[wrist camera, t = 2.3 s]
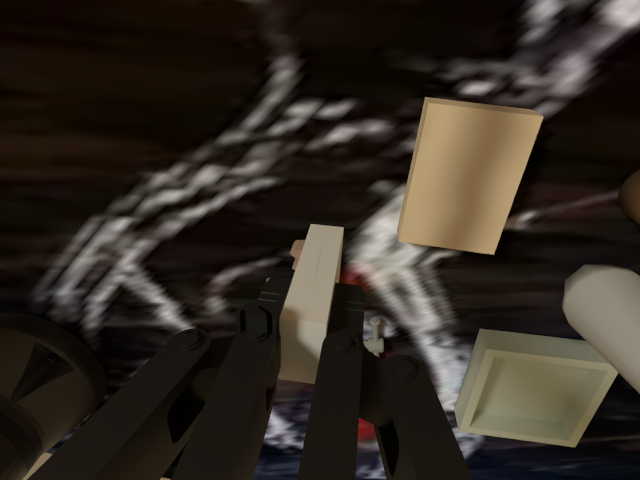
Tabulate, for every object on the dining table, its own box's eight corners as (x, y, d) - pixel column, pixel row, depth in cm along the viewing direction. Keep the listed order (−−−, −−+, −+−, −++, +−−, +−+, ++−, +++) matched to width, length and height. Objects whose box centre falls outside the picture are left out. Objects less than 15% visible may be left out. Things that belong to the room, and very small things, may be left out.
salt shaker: (535, 289, 33) (618, 433, 22) (595, 239, 30) (725, 373, 19) (588, 324, 34) (694, 478, 23) (650, 278, 31) (806, 427, 20)
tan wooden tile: (396, 226, 32) (398, 241, 30) (424, 95, 27) (428, 102, 25) (486, 238, 32) (493, 254, 30) (530, 108, 27) (543, 116, 25)
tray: (454, 409, 41) (458, 431, 39) (479, 328, 35) (486, 349, 33) (564, 423, 40) (575, 447, 38) (607, 343, 35) (622, 365, 32)
